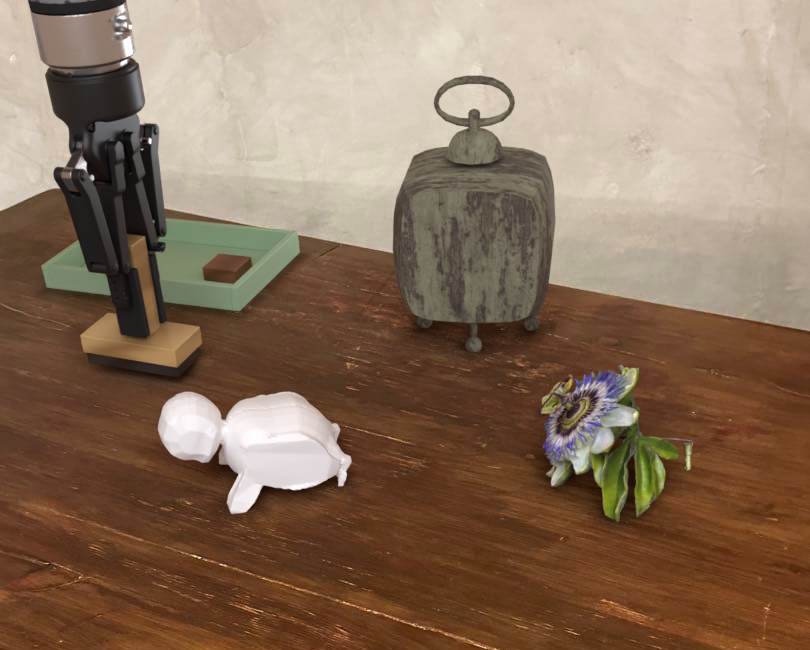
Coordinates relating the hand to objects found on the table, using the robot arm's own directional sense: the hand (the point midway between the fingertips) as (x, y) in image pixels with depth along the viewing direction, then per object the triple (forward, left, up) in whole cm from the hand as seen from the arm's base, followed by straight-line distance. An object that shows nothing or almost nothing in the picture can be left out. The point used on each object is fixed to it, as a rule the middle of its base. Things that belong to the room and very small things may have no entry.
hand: (144, 326), depth 105 cm
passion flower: (+45, -6, -5) cm, 46 cm away
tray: (-9, +21, -5) cm, 23 cm away
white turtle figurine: (+18, -14, -5) cm, 23 cm away
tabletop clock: (+28, +14, -5) cm, 32 cm away
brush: (-1, 0, -4) cm, 4 cm away
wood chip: (-2, +21, -4) cm, 22 cm away
